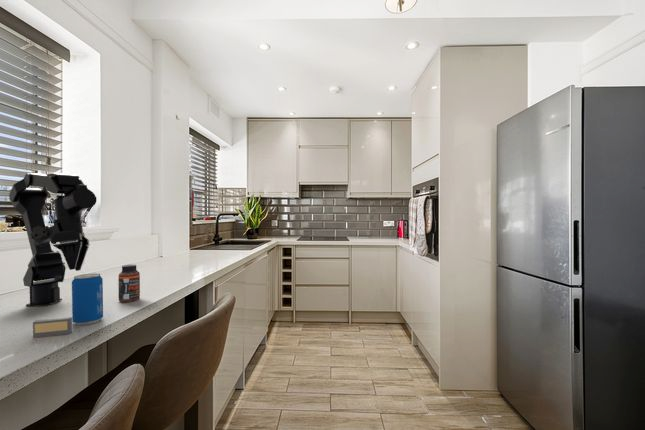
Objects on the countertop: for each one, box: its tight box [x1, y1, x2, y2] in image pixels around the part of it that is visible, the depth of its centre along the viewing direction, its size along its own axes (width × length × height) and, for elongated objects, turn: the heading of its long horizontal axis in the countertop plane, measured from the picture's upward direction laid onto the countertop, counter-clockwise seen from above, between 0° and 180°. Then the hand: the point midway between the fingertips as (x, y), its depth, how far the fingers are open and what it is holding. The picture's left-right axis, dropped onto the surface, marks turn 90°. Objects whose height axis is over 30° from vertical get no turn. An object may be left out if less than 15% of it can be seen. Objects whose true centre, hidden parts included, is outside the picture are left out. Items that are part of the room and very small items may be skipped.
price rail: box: [32, 317, 73, 338], centre depth 76 cm, size 7×1×4 cm, turn 107°
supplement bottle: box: [117, 264, 141, 303], centre depth 105 cm, size 6×6×11 cm
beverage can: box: [71, 273, 104, 326], centre depth 85 cm, size 6×6×12 cm
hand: (75, 270), depth 93 cm, fingers open, 9 cm apart
